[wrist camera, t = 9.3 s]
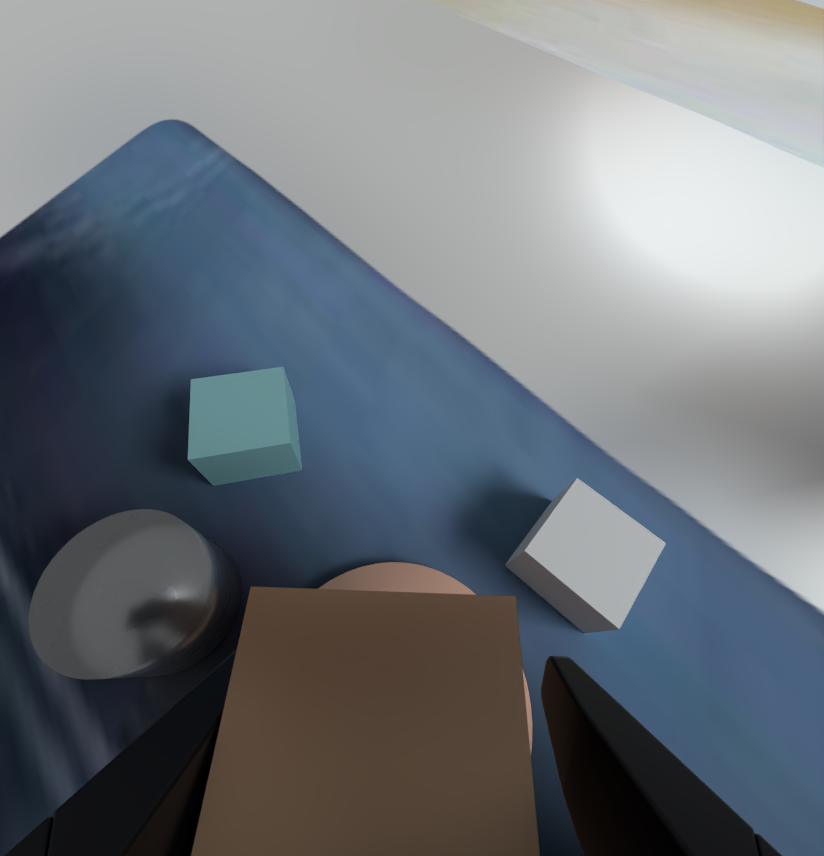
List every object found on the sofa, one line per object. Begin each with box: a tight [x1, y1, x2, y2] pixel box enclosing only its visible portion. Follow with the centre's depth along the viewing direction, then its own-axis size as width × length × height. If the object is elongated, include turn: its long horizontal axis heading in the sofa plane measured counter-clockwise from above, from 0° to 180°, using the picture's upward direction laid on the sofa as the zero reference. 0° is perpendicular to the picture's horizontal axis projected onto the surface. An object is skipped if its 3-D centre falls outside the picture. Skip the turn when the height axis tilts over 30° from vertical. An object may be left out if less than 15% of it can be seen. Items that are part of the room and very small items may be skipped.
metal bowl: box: [28, 509, 242, 679], centre depth 15 cm, size 5×5×4 cm
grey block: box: [505, 478, 666, 633], centre depth 17 cm, size 4×4×3 cm
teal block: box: [188, 367, 302, 486], centre depth 19 cm, size 4×4×3 cm
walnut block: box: [191, 587, 540, 856], centre depth 10 cm, size 4×4×10 cm
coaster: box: [318, 562, 532, 754], centre depth 15 cm, size 10×10×1 cm
